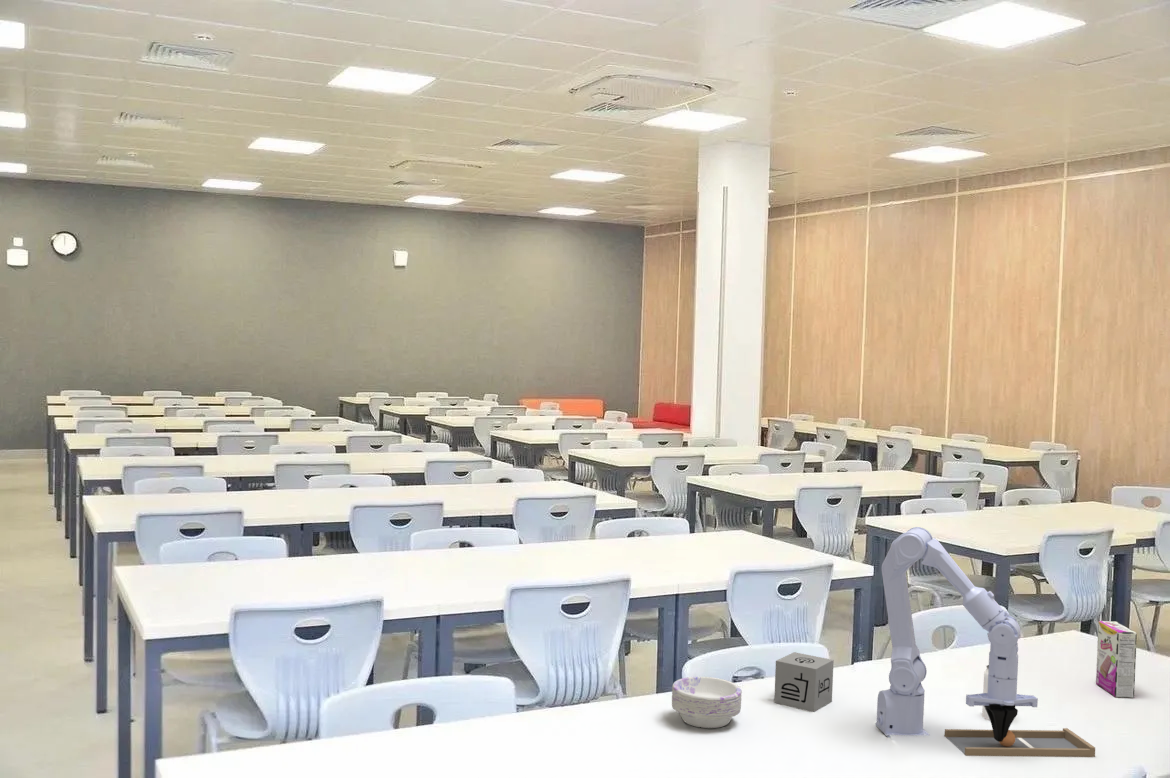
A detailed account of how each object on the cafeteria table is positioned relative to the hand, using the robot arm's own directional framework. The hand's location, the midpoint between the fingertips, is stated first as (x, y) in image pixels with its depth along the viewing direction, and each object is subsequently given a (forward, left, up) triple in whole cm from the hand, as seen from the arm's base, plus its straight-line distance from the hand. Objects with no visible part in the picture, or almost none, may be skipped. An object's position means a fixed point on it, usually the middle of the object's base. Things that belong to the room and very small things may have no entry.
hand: (1000, 740), depth 231 cm
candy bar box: (+47, +41, -2) cm, 63 cm away
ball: (0, 0, +1) cm, 1 cm away
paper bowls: (-60, +15, -2) cm, 61 cm away
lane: (+3, 0, -2) cm, 4 cm away
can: (+7, +18, -2) cm, 20 cm away
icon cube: (-34, +29, -2) cm, 45 cm away
